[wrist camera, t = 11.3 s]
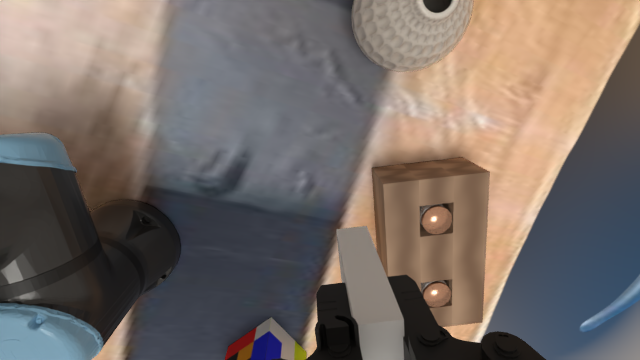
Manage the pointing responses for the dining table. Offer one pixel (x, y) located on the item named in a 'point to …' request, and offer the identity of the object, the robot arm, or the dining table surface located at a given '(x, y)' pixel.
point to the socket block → (435, 249)
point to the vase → (409, 30)
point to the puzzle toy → (266, 344)
